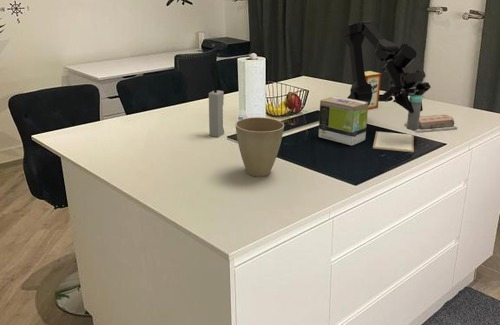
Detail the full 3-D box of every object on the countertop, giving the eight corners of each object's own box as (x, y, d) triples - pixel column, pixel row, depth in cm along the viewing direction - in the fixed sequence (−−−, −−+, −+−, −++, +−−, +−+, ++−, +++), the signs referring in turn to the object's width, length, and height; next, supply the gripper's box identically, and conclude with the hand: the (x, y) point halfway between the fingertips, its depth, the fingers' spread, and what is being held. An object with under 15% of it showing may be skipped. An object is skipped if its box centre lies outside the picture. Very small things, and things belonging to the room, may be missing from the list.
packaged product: (443, 112, 218) (459, 118, 209) (442, 123, 219) (457, 130, 210) (405, 114, 213) (418, 121, 204) (403, 126, 215) (417, 133, 206)
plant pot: (246, 184, 158) (246, 134, 152) (228, 167, 170) (228, 120, 165) (290, 177, 163) (292, 128, 158) (270, 161, 176) (271, 115, 170)
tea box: (366, 140, 197) (369, 101, 192) (351, 146, 190) (354, 106, 185) (332, 131, 207) (335, 94, 201) (317, 137, 200) (319, 99, 194)
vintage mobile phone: (224, 133, 202) (223, 68, 193) (218, 137, 198) (217, 71, 189) (215, 132, 204) (214, 68, 195) (209, 136, 200) (208, 70, 190)
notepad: (372, 148, 189) (372, 146, 188) (376, 132, 206) (376, 130, 205) (413, 152, 185) (413, 150, 185) (413, 135, 202) (413, 134, 202)
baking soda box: (367, 104, 244) (370, 70, 238) (377, 107, 239) (381, 72, 233) (352, 107, 239) (355, 72, 233) (363, 110, 234) (366, 75, 228)
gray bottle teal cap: (406, 129, 190) (410, 97, 185) (406, 126, 193) (410, 94, 189) (418, 130, 189) (422, 97, 184) (418, 127, 192) (422, 95, 188)
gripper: (392, 64, 181) (412, 103, 176) (430, 59, 190) (450, 96, 185) (374, 82, 190) (392, 119, 186) (411, 77, 199) (430, 112, 194)
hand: (417, 111), depth 188 cm, fingers closed on gray bottle teal cap, 4 cm apart
